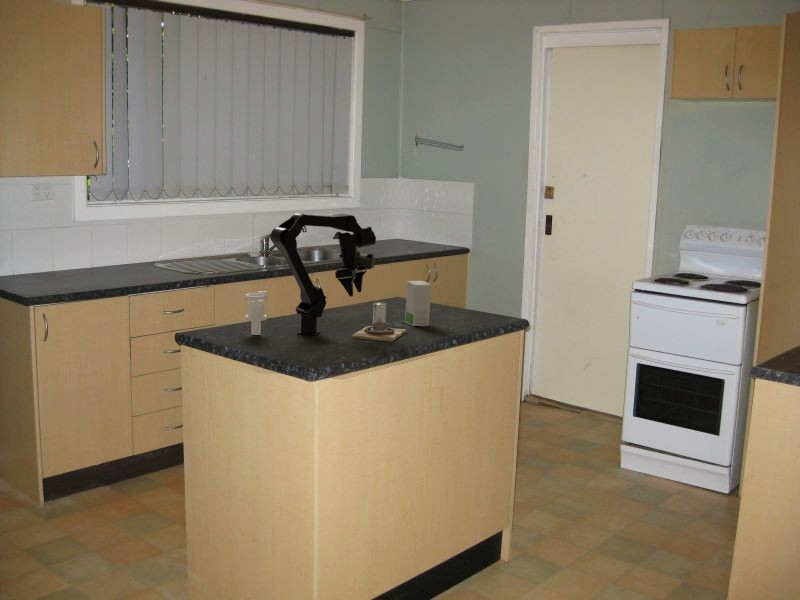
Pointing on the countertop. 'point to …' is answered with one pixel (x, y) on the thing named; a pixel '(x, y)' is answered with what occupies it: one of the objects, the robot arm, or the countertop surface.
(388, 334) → the maple board
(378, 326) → the aluminium hub pin
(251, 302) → the grey stepped cylinder
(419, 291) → the skincare box
